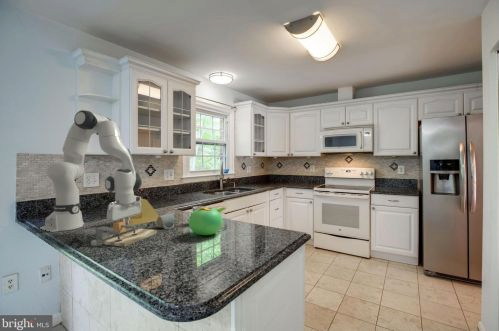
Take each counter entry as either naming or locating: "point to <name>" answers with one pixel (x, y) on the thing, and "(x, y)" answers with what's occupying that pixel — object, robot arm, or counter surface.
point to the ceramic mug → (166, 221)
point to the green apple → (206, 220)
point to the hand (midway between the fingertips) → (125, 225)
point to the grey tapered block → (107, 235)
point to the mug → (197, 208)
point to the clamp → (144, 214)
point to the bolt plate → (130, 237)
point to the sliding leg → (122, 226)
